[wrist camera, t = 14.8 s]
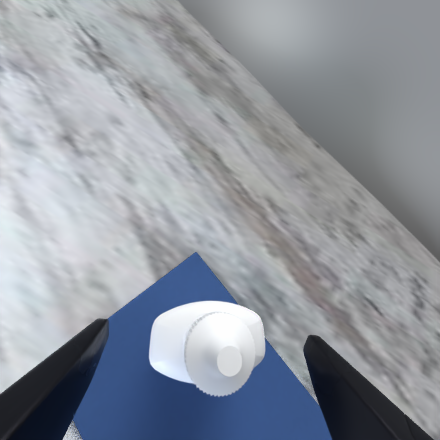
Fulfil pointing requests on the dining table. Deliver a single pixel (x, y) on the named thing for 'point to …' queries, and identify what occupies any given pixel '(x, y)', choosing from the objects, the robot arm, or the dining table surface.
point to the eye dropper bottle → (208, 345)
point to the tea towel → (182, 391)
